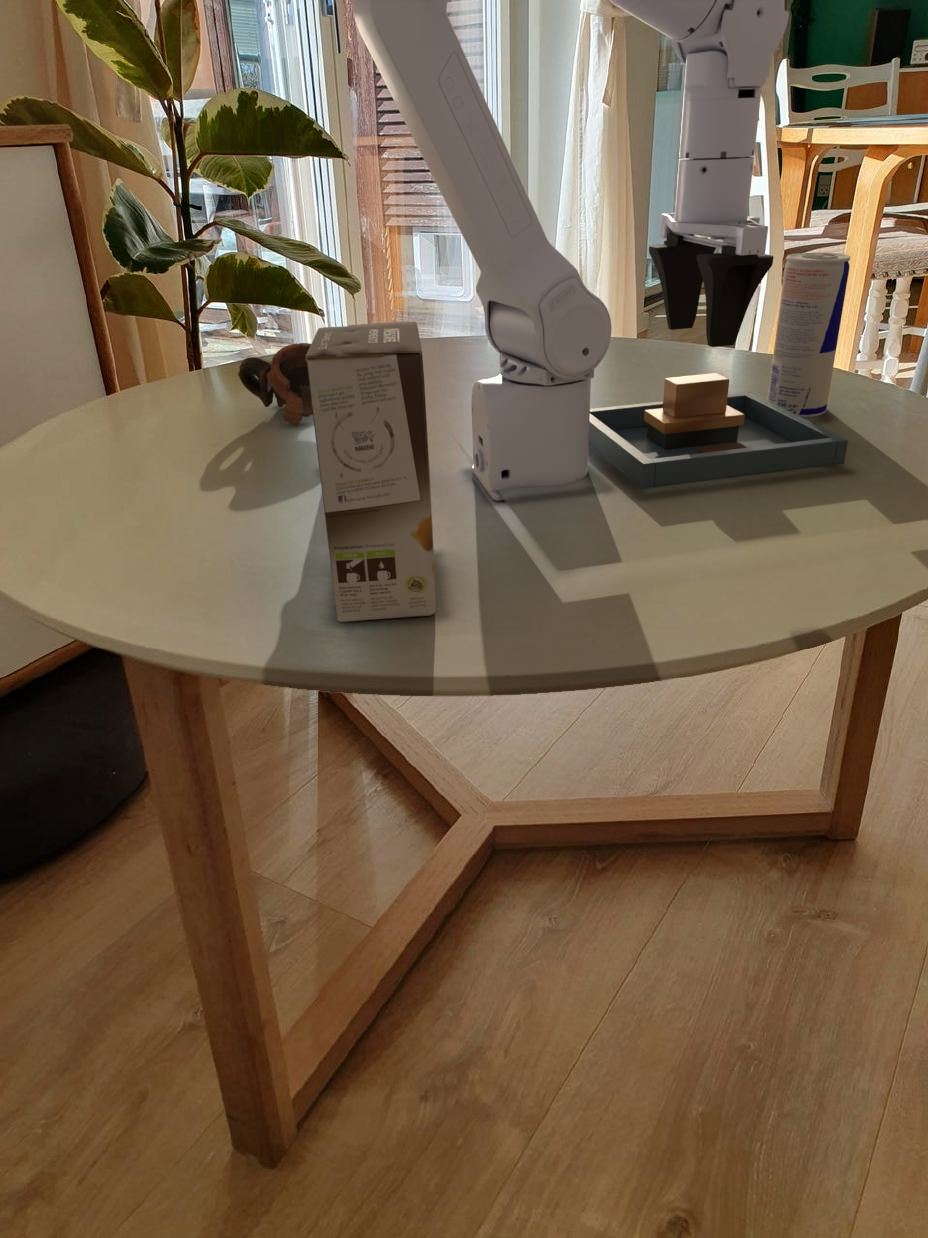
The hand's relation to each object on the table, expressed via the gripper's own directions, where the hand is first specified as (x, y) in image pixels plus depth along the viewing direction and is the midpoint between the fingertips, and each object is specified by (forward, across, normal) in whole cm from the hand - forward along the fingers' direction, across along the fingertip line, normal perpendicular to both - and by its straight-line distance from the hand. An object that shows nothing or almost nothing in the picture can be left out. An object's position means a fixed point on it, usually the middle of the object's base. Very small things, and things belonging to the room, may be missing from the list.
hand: (699, 336), depth 75 cm
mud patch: (+9, -7, 0) cm, 11 cm away
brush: (+9, 0, 0) cm, 9 cm away
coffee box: (+10, -20, +31) cm, 38 cm away
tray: (+10, -2, 0) cm, 10 cm away
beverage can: (+10, +6, -14) cm, 18 cm away
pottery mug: (+10, +24, +34) cm, 43 cm away
